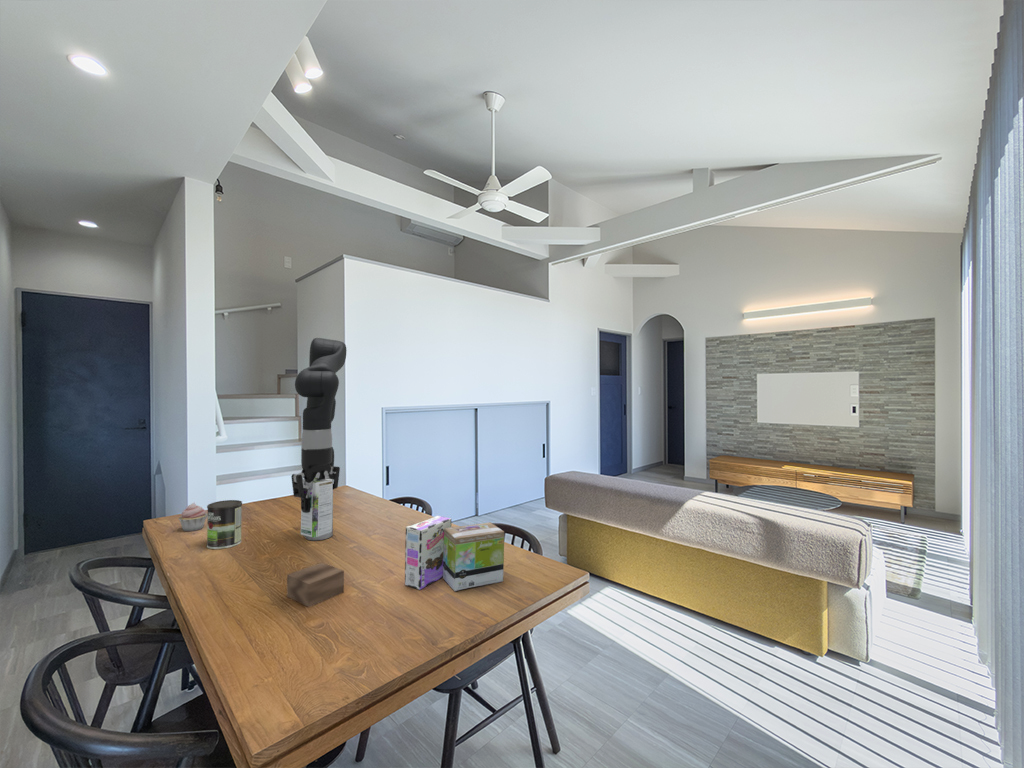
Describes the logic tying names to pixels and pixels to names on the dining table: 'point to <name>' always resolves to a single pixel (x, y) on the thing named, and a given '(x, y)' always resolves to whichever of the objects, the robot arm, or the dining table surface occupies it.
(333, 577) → the walnut block
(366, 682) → the dining table surface
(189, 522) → the cupcake
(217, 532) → the coffee can
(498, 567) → the tea box
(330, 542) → the dining table surface
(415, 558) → the candy box
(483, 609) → the dining table surface
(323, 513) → the syrup box
